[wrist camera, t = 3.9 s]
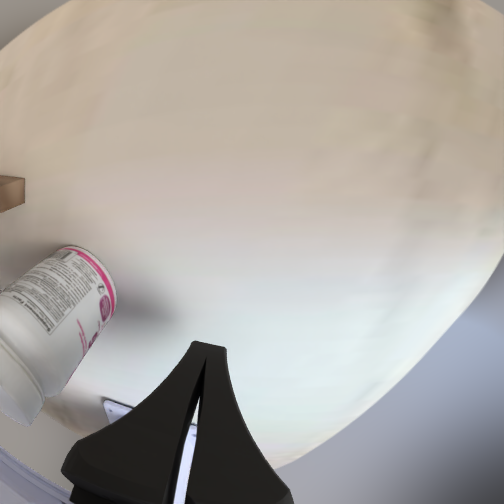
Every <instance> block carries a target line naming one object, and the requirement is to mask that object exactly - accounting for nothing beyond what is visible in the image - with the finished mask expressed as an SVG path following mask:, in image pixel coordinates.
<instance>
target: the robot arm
mask: <svg viewBox="0 0 504 504" xmlns="http://www.w3.org/2000/svg"><path fill="white" fill-rule="evenodd" d="M199 397H200V399H199ZM198 400H199V410H198V421H197V426H193V425H191V422H192V419H193V416H194V413H195V409H196V406H197V403H198ZM103 405H104V408H105V411H106V414H107V417H108V420H109V423H110V425H108V426H106V427H105V428H103V429H101V430H99V431H97V432H95V433H93V434H91V435H89V436H87V437H85V438H83V439H81V440H78V441H77V442H76V443H75V444H74V446H73V447H72V448H71V450H70V451H69V453H68V454H67V456H66V458H65V461H64V463H63V466H62V468H61V472H62V474H63V475H64V476H65V477H66V478H67V479H68V480H70V482H72V483H73V484H74V488H73V490H72V492H70V491H68V490H67V489H65V488H63V487H61V486H59V485H57V484H56V483H54V482H52V481H50V480H49V479H47V478H45V477H44V476H42V475H41V474H39V473H37V472H36V471H34V470H33V469H31V468H30V467H28V466H27V465H25V464H24V463H22V462H21V461H20V460H18V459H17V458H15V457H14V456H13V455H11V454H10V453H9V452H7V451H6V450H5V449H4V448H2V447H1V446H0V504H184V499H185V504H294V501H293V498H292V495H291V492H290V489H289V488H288V487H287V486H286V485H285V483H284V482H283V481H282V480H281V479H280V478H279V476H278V475H277V474H276V473H275V472H274V470H273V469H272V467H271V466H270V465H269V463H268V462H267V460H266V459H265V457H264V456H263V454H262V453H261V451H260V449H259V448H258V446H257V445H256V443H255V441H254V440H253V438H252V436H251V434H250V432H249V430H248V428H247V426H246V424H245V421H244V419H243V417H242V414H241V412H240V409H239V407H238V404H237V401H236V398H235V395H234V392H233V388H232V384H231V380H230V376H229V371H228V364H227V349H226V348H225V347H222V346H217V345H212V344H208V343H203V342H199V341H193V342H192V343H191V345H190V347H189V349H188V350H187V352H186V353H185V355H184V356H183V358H182V359H181V360H180V362H179V363H178V364H177V366H176V367H175V368H174V369H173V371H172V372H171V373H170V374H169V375H168V377H167V378H166V379H165V380H164V381H163V382H162V383H161V384H160V385H159V386H158V387H157V388H156V389H155V390H154V391H153V392H152V393H151V394H150V395H149V396H148V397H147V398H145V399H144V400H143V401H142V402H141V403H140V404H138V405H137V406H136V407H135V408H133V409H131V408H128V407H125V406H123V405H120V404H117V403H114V402H112V401H109V400H105V401H104V403H103ZM190 468H191V469H190ZM189 471H190V475H189ZM188 476H189V480H188ZM187 481H188V486H187ZM186 488H187V491H186ZM185 493H186V498H185Z"/></svg>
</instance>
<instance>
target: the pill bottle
mask: <svg viewBox="0 0 504 504" xmlns="http://www.w3.org/2000/svg"><path fill="white" fill-rule="evenodd" d="M116 303H117V296H116V289H115V286H114V283H113V280H112V278H111V276H110V274H109V273H108V271H107V270H106V268H105V267H104V266H103V265H102V263H101V262H100V261H99V260H98V259H97V258H96V257H95V256H93V255H92V254H91V253H89V252H88V251H86V250H84V249H82V248H79V247H74V246H69V247H64V248H61V249H59V250H57V251H56V252H54V253H53V254H51V255H50V256H48V257H47V258H46V259H44V260H43V261H41V262H40V263H39V264H37V265H36V266H35V267H33V268H32V269H31V270H29V271H28V272H27V273H25V274H24V275H23V276H21V277H20V278H19V279H17V280H16V281H15V282H14V283H12V284H11V285H10V286H9V287H7V288H6V289H5V290H4V291H3V292H1V293H0V410H1V411H2V412H3V413H4V414H6V415H7V416H8V417H10V418H11V419H12V420H14V421H16V422H17V423H19V424H21V425H23V426H30V425H31V424H32V422H33V421H34V419H35V417H36V416H37V415H38V413H39V412H40V410H41V409H42V405H43V404H44V402H45V398H44V397H54V396H56V395H58V394H59V393H60V392H61V391H62V390H63V388H64V387H65V386H66V384H67V383H68V381H69V379H70V378H71V376H72V374H73V373H74V371H75V370H76V368H77V367H78V365H79V364H80V362H81V360H82V359H83V357H84V356H85V354H86V353H87V351H88V350H89V348H90V347H91V346H92V344H93V342H94V341H95V339H96V338H97V337H98V335H99V334H100V332H101V331H102V329H103V328H104V327H105V325H106V324H107V322H108V321H109V320H110V318H111V317H112V315H113V313H114V311H115V308H116Z"/></svg>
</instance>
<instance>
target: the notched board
mask: <svg viewBox="0 0 504 504" xmlns="http://www.w3.org/2000/svg"><path fill="white" fill-rule="evenodd" d="M24 185H25V178H17V177H9V176H1V175H0V213H2V212H4V211H6V210H9V209H11V208H13V207H16V206H18V205H21V204H23V203H25V195H24Z"/></svg>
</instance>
